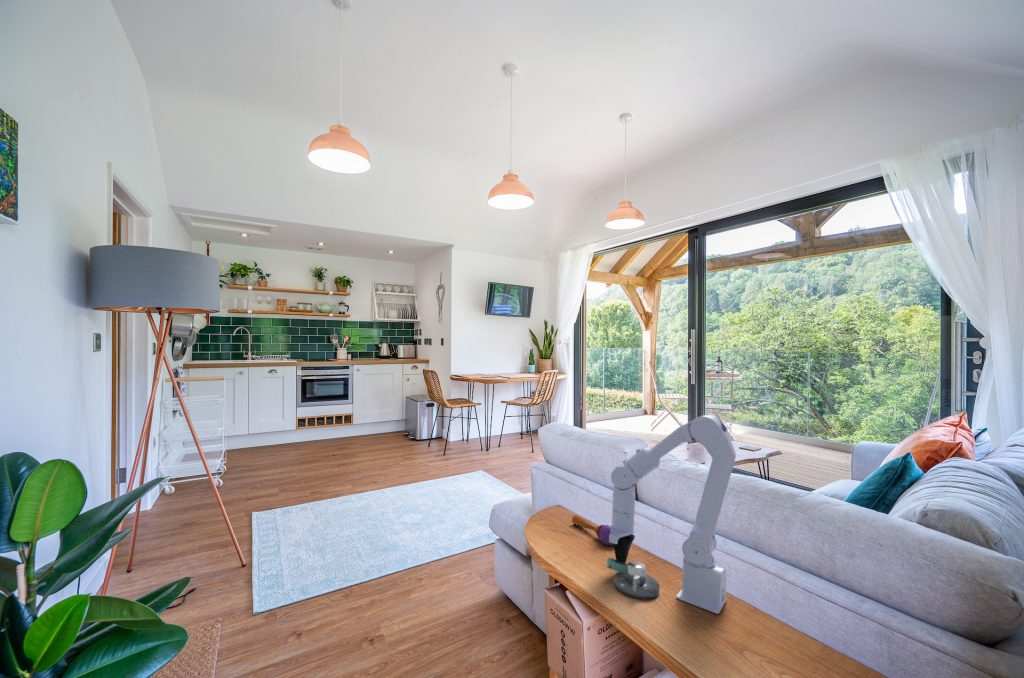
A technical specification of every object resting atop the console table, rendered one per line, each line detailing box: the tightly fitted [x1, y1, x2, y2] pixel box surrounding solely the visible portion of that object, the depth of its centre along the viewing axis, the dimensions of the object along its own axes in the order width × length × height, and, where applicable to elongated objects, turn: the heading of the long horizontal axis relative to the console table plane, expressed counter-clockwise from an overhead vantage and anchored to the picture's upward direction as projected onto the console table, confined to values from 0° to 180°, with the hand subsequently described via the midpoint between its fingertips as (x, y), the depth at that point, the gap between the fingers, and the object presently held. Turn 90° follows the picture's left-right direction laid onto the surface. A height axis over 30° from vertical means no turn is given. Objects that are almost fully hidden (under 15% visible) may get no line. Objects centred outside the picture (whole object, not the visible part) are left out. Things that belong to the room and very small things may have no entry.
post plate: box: [613, 571, 661, 601], centre depth 106 cm, size 11×11×4 cm
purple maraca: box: [571, 514, 613, 547], centre depth 138 cm, size 6×6×20 cm
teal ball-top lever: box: [606, 557, 647, 585], centre depth 108 cm, size 10×4×4 cm, turn 51°
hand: (621, 562), depth 113 cm, fingers closed
